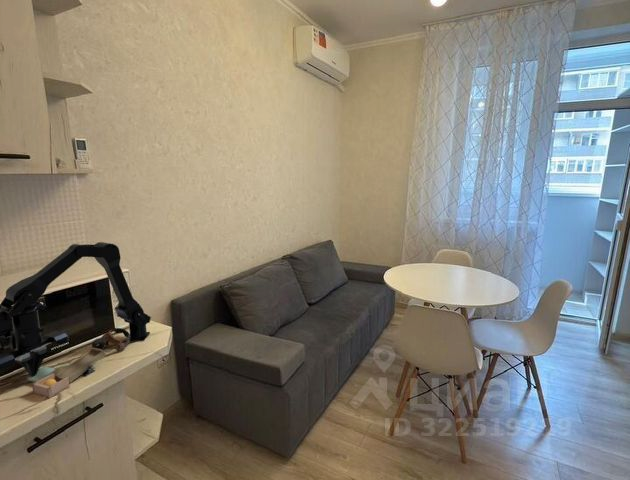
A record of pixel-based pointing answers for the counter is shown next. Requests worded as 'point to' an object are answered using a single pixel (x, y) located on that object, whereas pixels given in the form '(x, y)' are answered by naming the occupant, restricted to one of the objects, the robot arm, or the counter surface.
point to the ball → (49, 382)
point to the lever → (71, 367)
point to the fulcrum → (88, 372)
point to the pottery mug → (112, 339)
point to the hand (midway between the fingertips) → (33, 375)
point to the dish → (50, 387)
